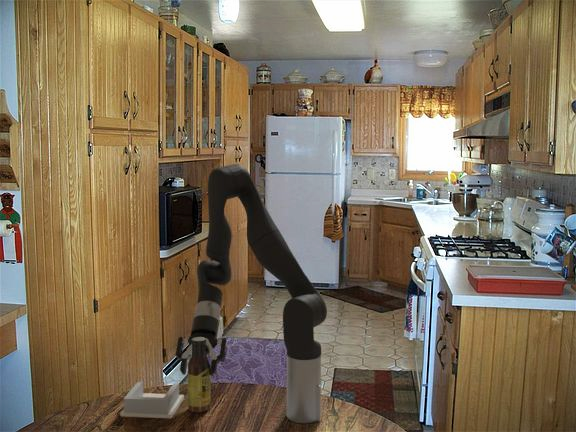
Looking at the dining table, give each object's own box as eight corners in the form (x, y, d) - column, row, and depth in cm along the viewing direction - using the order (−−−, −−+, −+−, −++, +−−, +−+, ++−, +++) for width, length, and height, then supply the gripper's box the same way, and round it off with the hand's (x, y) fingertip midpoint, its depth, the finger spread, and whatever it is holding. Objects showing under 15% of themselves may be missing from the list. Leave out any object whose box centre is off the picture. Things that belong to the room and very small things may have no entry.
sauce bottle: (206, 415, 158) (205, 343, 156) (184, 412, 160) (183, 342, 157) (213, 404, 165) (213, 336, 162) (192, 402, 166) (191, 334, 164)
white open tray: (184, 398, 169) (183, 381, 168) (171, 418, 156) (171, 400, 156) (136, 396, 170) (136, 379, 170) (120, 416, 157) (119, 398, 157)
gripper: (179, 313, 167) (168, 367, 157) (229, 314, 166) (221, 369, 156) (184, 325, 173) (174, 379, 163) (232, 327, 172) (225, 380, 162)
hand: (197, 374), depth 159 cm, fingers open, 7 cm apart
